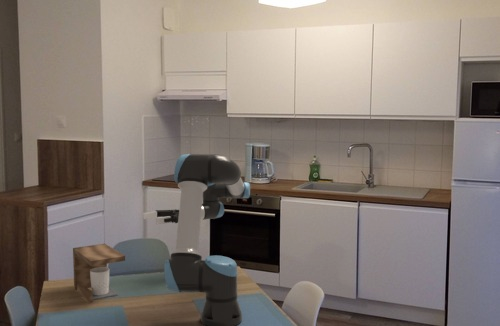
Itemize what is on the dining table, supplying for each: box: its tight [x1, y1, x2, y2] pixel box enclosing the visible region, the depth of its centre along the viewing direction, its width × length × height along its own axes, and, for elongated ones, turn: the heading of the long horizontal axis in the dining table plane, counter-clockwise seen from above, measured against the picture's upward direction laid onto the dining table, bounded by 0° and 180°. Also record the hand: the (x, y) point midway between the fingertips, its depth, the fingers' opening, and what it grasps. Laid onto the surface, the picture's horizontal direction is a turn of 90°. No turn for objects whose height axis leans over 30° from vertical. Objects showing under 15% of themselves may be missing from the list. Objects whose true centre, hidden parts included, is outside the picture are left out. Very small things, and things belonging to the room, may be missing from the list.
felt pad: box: [89, 287, 119, 301], centre depth 232 cm, size 11×11×1 cm
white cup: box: [90, 266, 110, 295], centre depth 232 cm, size 8×8×10 cm
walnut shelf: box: [72, 243, 126, 304], centre depth 232 cm, size 14×24×18 cm, turn 34°
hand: (149, 218), depth 241 cm, fingers open, 13 cm apart
